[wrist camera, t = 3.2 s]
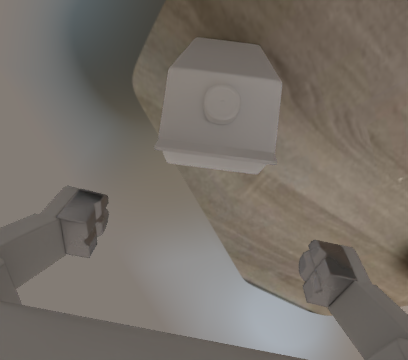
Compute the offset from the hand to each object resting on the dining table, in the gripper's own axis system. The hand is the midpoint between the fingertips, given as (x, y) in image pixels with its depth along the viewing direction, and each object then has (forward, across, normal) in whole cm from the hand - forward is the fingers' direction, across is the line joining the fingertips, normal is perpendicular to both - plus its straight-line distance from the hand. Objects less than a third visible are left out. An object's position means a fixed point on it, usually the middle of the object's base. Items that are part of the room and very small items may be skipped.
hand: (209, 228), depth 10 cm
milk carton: (+25, 0, 0) cm, 25 cm away
